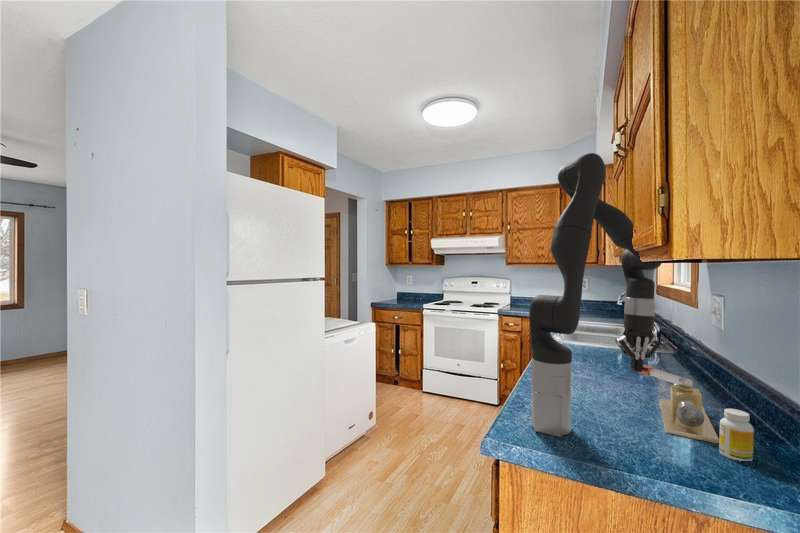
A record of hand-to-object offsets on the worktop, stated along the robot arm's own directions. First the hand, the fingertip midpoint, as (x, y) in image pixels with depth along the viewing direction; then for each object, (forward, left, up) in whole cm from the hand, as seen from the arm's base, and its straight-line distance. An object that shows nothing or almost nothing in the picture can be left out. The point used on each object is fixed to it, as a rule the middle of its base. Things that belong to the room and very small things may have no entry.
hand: (636, 371), depth 107 cm
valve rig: (-6, -11, -10) cm, 16 cm away
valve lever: (-1, -6, -1) cm, 6 cm away
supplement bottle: (-23, -18, -10) cm, 31 cm away
